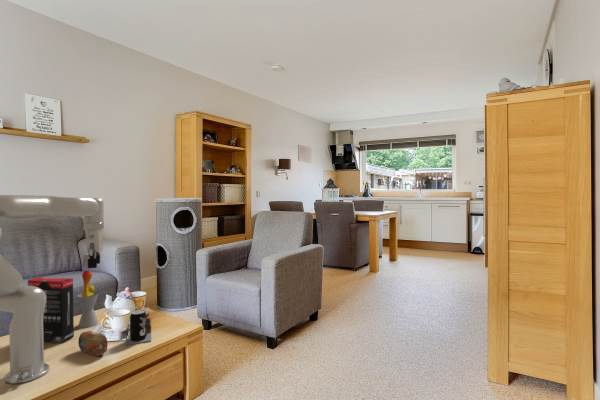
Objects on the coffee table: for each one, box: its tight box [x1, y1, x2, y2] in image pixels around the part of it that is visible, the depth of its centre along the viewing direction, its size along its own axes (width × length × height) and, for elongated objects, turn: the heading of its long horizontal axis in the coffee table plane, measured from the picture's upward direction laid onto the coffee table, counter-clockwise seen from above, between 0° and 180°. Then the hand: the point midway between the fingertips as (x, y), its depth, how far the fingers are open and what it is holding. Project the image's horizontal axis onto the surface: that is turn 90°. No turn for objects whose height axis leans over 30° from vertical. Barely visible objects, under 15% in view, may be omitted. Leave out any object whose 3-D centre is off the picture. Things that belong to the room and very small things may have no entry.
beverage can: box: [129, 309, 147, 341], centre depth 152 cm, size 7×7×12 cm
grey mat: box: [125, 332, 152, 346], centre depth 153 cm, size 9×10×1 cm
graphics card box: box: [27, 276, 75, 344], centre depth 152 cm, size 17×7×27 cm, turn 84°
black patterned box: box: [126, 317, 152, 334], centre depth 162 cm, size 10×10×4 cm
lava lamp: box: [76, 253, 100, 329], centre depth 170 cm, size 9×9×35 cm
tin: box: [77, 330, 108, 357], centre depth 140 cm, size 15×3×8 cm, turn 65°
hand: (94, 265), depth 150 cm, fingers open, 9 cm apart
